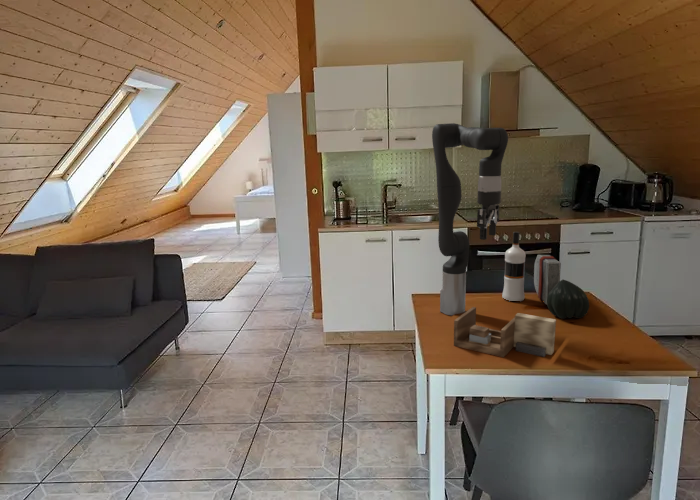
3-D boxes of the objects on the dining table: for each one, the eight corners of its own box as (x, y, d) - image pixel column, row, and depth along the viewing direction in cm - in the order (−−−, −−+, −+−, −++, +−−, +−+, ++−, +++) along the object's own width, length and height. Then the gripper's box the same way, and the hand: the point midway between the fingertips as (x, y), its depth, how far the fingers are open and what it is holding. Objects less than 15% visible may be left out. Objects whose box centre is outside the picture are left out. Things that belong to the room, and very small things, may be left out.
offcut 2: (469, 340, 161) (469, 334, 161) (473, 336, 165) (473, 330, 164) (487, 344, 158) (487, 338, 158) (490, 340, 161) (491, 333, 161)
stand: (515, 353, 158) (515, 343, 157) (522, 345, 164) (523, 335, 164) (543, 359, 153) (544, 349, 152) (550, 351, 159) (551, 341, 159)
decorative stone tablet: (562, 261, 194) (548, 251, 224) (545, 260, 196) (533, 251, 225) (560, 308, 197) (546, 292, 226) (543, 307, 198) (531, 291, 227)
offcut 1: (469, 334, 161) (469, 328, 161) (474, 330, 164) (474, 324, 163) (484, 337, 158) (484, 331, 157) (488, 334, 161) (489, 328, 160)
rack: (453, 348, 163) (454, 320, 161) (472, 333, 176) (472, 306, 174) (503, 360, 154) (504, 330, 151) (519, 343, 166) (520, 315, 164)
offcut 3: (468, 346, 162) (468, 340, 162) (473, 342, 165) (473, 336, 165) (485, 350, 158) (485, 344, 158) (490, 346, 162) (490, 340, 161)
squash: (594, 312, 178) (588, 275, 185) (550, 311, 182) (547, 275, 189) (586, 326, 190) (581, 291, 197) (545, 325, 194) (542, 291, 201)
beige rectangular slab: (513, 346, 161) (515, 315, 159) (516, 343, 163) (518, 312, 161) (551, 355, 154) (553, 322, 152) (553, 351, 156) (556, 319, 154)
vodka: (500, 301, 210) (503, 233, 204) (504, 294, 218) (507, 229, 212) (522, 303, 206) (526, 234, 200) (525, 297, 214) (529, 230, 208)
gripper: (486, 187, 169) (484, 233, 172) (470, 191, 158) (469, 239, 161) (507, 188, 165) (505, 234, 168) (492, 191, 153) (491, 242, 157)
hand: (487, 237), depth 165 cm, fingers open, 8 cm apart
